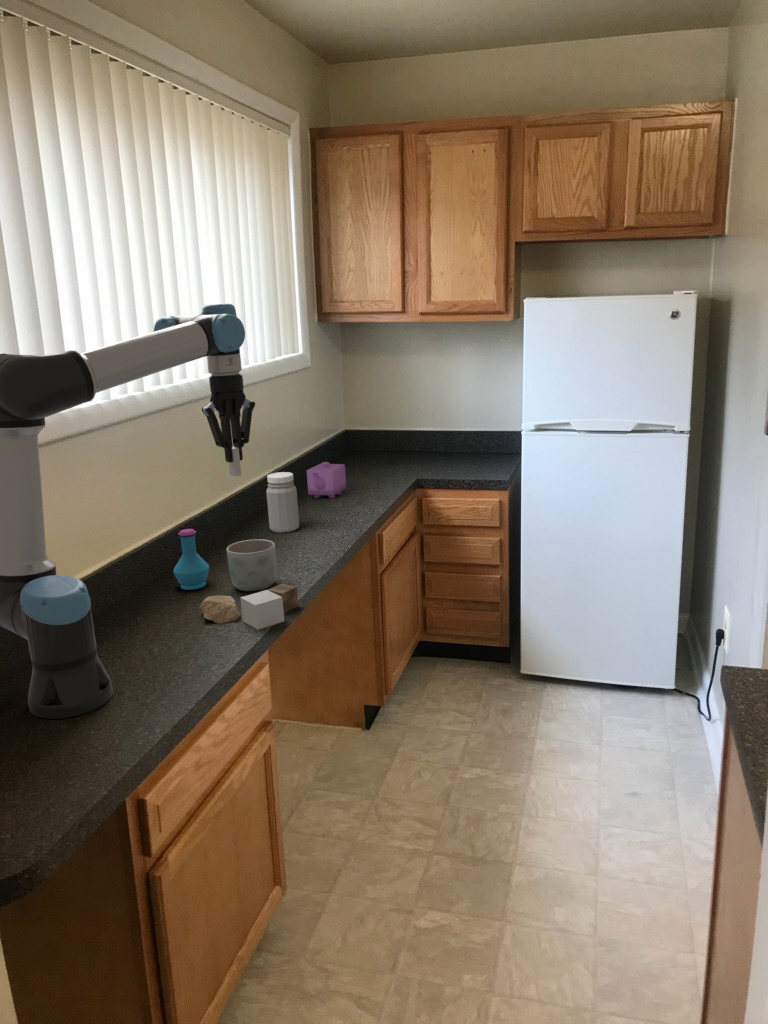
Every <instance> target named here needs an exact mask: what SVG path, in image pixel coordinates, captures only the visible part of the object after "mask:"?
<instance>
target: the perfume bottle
mask: <svg viewBox="0 0 768 1024" xmlns="http://www.w3.org/2000/svg"><path fill="white" fill-rule="evenodd" d="M196 534H197V531H196V530H194V528H185V529H181V530H180V531H179V532H177V535H179V539H180V543H181V544H180V545H181V550H182V551H181V553H182V554H181V557H180V558H179V560H178V562H177V563H176V565H175V566H174V568H173V575H174V577H175V578H176V579H177V582H178V584H180V588H181V589H182V590H186V591H187V590H188V591H190V590H191V591H192V590H198V589H201V588H203V587H205V586H206V585H207V582H206V580H207V579H208V576H209V572H210V564H208V563H207V561H205V560H204V558H203V557H201V556H200V554H199V553H197V546H196Z"/></svg>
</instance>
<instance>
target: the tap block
mask: <svg viewBox="0 0 768 1024" xmlns="http://www.w3.org/2000/svg"><path fill="white" fill-rule="evenodd" d="M239 600H240V607H241V616H242V617H241V618H242V622H243V623H245V624H247V625H249V626H250V627H252V628H254V629H256V630H262V629H264V628H268V627H271V626H274V625H277V624H280V623H284V622H285V613H284V611H283V600H282V597H281V596H279V595H277V594H274V593H272V592H270V591H268V589H264V590H260V591H257V592H255V593H251V594H248V595H244V596H241V597H240V599H239Z"/></svg>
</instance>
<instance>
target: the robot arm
mask: <svg viewBox="0 0 768 1024" xmlns="http://www.w3.org/2000/svg"><path fill="white" fill-rule="evenodd" d="M245 330H246V329H245V325H244V323H243V321H242V319H240V317H238V316H237V311H236V307H235V305H234V304H232V303H215V304H204V305H202V306H201V313H200V314H189V315H188V314H187V315H169V316H162V317H159V318H158V319H157V320H156V321H155V323H154V326H153V332H149V333H146V334H143V335H140V336H139V335H138V336H135V337H132V338H128V339H125V340H123V341H122V340H121V341H118V342H115V343H112V344H108V345H104V346H102V347H98V348H95V349H91V350H87V351H84V352H79V351H77V350H75V349H70V350H67V351H63V352H59V353H53V354H50V353H49V354H11V353H0V627H2V628H4V629H5V630H7V631H9V632H12V633H14V634H16V635H18V636H19V637H21V638H23V639H25V640H26V641H27V645H28V651H29V655H30V661H31V666H32V668H31V669H32V671H31V672H32V673H31V678H30V683H29V687H28V688H29V689H28V695H27V704H28V709H29V712H30V714H31V715H33V716H35V717H37V718H41V719H46V720H47V719H48V720H50V719H51V720H52V719H53V720H58V719H67V718H72V717H77V716H80V715H85V714H87V713H90V712H93V711H94V710H96V709H98V708H100V707H102V706H104V705H105V704H106V703H108V701H110V700H111V698H112V697H113V695H114V689H113V683H112V678H111V677H110V675H109V674H108V672H107V670H106V668H105V666H104V664H103V662H102V661H101V659H100V657H99V655H98V647H97V641H96V634H95V627H94V620H93V619H94V618H93V613H92V608H91V607H92V602H91V601H92V600H91V597H90V595H89V591H88V588H87V585H86V584H85V583H84V582H83V580H81V579H79V578H76V577H74V576H70V575H64V576H62V575H60V574H57V568H56V567H57V566H56V562H55V561H54V560H52V559H51V558H50V557H49V556H48V555H47V546H46V545H47V544H46V532H45V531H46V530H45V529H46V527H45V517H44V505H43V504H44V503H43V490H42V488H43V487H42V476H41V475H42V474H41V464H40V463H41V462H40V451H39V449H40V447H39V433H41V431H43V429H44V428H45V427H46V418H47V417H50V416H53V415H56V414H59V413H61V412H64V411H66V410H68V409H71V408H74V407H77V406H80V405H82V404H85V403H89V402H91V401H92V400H94V399H95V396H96V394H97V393H100V392H103V391H106V390H109V389H112V388H115V387H118V386H121V385H124V384H126V383H130V382H133V381H135V380H138V379H142V378H145V377H147V376H151V375H155V374H157V373H160V372H162V371H166V370H168V369H171V368H172V369H173V368H176V367H178V366H181V365H184V364H186V363H190V362H193V361H195V360H198V359H201V358H205V357H206V362H207V370H208V373H209V374H210V376H208V379H209V389H210V390H209V391H210V394H211V395H210V399H209V401H210V402H209V403H208V404H207V405H206V406H202V407H201V412H202V413H203V415H204V416H205V417H206V420H207V422H208V425H209V428H210V432H211V434H212V437H213V440H214V443H215V445H216V447H220V448H223V451H224V460H225V461H226V463H228V467H229V475H230V476H233V477H239V476H242V468H241V461H243V459H244V458H243V457H244V456H243V449H242V448H244V446H245V444H248V443H249V442H250V435H251V434H250V433H251V426H252V418H253V417H252V416H253V411H254V409H255V406H256V402H255V401H252V400H250V399H247V396H246V394H245V392H244V377H243V374H242V373H240V372H241V371H242V359H241V350H240V348H241V346H243V344H244V343H245V340H246V331H245ZM242 408H243V409H242ZM241 410H242V412H241ZM215 412H217V413H218V418H219V420H220V424H219V420H218V418H217V415H216V414H215Z"/></svg>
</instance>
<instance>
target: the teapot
mask: <svg viewBox="0 0 768 1024" xmlns="http://www.w3.org/2000/svg"><path fill="white" fill-rule="evenodd" d="M306 479H307V482H306V483H307V491H308V494H307V495H309V496H313V498H314V499H317V498H318V499H319V498H321V497H322V496H328V499H336V495H337V496H338V495H339V496H340V495H342V494H343V493H342V492H343V491H345V489H347V480H346V479H347V477H346V465H345V463H344V464H342V463H330V462H328V461H324V462H321V463H318V464H317V465H315V466H313V467H311V468H309V469H306Z"/></svg>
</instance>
